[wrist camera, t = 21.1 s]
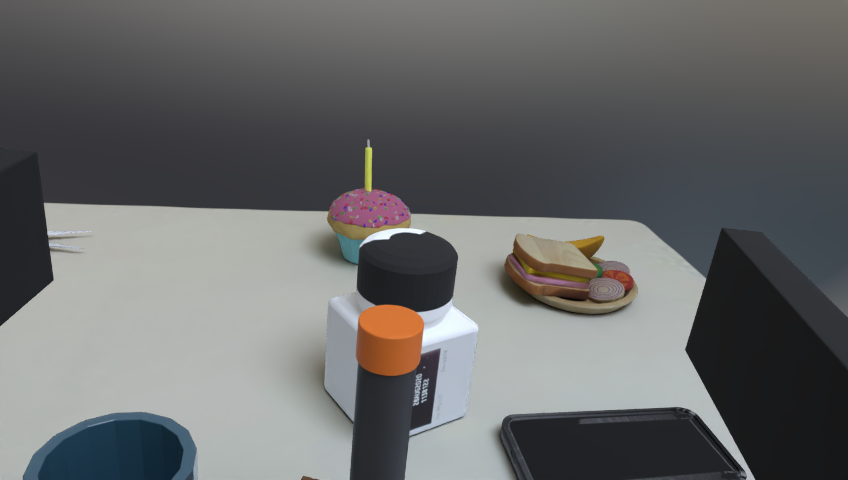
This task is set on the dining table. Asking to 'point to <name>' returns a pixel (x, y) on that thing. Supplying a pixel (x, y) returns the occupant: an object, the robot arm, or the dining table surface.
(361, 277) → the container
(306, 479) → the tray
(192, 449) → the pen cup
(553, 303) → the toy sandwich meal
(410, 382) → the marker
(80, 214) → the dining table surface
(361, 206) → the cupcake
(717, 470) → the phone
